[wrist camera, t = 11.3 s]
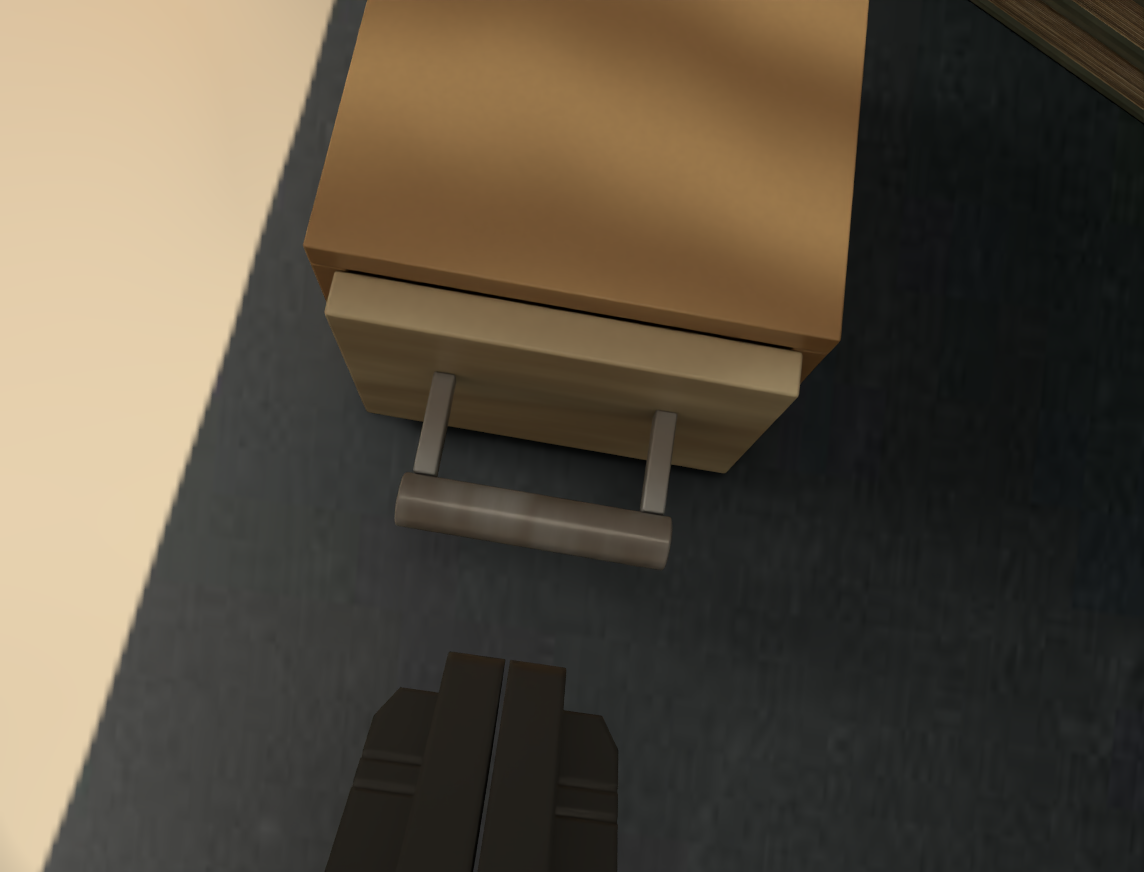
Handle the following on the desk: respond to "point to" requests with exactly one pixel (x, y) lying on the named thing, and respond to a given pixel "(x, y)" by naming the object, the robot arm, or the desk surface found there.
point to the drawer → (552, 404)
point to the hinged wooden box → (1085, 41)
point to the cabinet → (605, 158)
